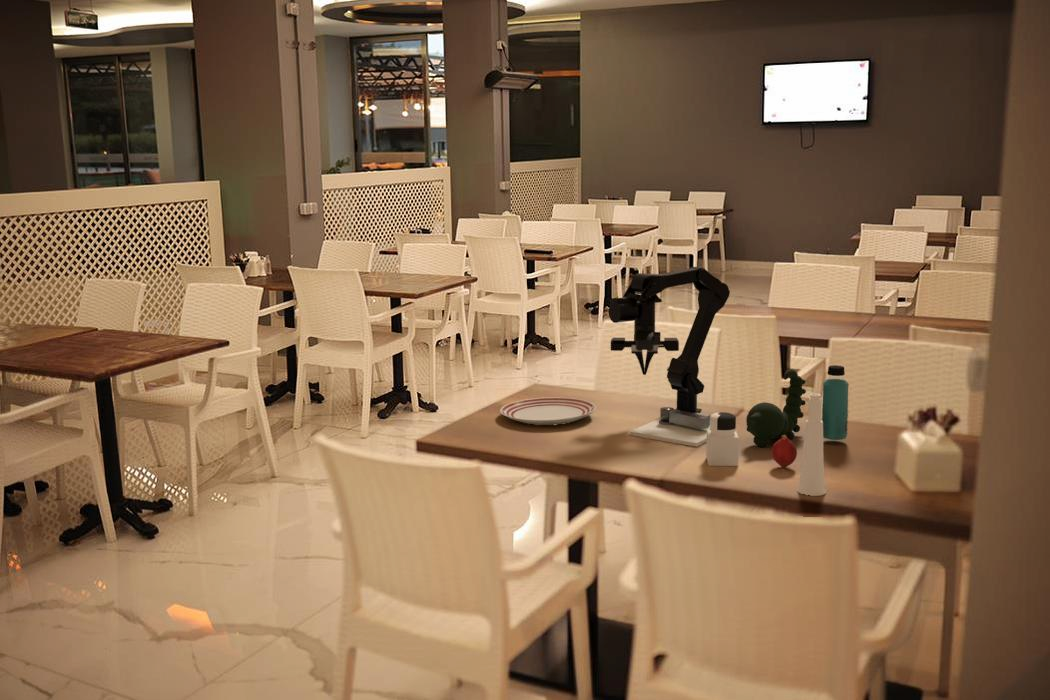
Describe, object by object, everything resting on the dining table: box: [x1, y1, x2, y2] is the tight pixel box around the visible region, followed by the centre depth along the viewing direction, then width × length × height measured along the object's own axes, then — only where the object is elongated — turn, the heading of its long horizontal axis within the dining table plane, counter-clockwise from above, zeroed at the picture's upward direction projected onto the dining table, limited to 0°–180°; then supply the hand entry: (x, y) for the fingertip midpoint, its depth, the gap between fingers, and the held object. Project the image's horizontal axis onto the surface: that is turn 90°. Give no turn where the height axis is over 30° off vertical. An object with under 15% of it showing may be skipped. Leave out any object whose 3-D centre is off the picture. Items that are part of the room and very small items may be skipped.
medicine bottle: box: [705, 411, 740, 467], centre depth 244 cm, size 7×7×12 cm
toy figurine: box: [745, 368, 807, 448], centre depth 260 cm, size 9×19×25 cm
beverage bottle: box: [821, 365, 850, 441], centre depth 258 cm, size 6×7×20 cm
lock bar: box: [659, 406, 709, 430], centre depth 273 cm, size 15×4×3 cm, turn 43°
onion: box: [770, 435, 798, 469], centre depth 239 cm, size 6×6×8 cm
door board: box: [629, 412, 711, 448], centre depth 271 cm, size 18×20×4 cm
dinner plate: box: [499, 396, 597, 426], centre depth 289 cm, size 27×27×3 cm
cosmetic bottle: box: [796, 393, 827, 497], centre depth 221 cm, size 6×6×22 cm
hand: (644, 374), depth 283 cm, fingers closed
